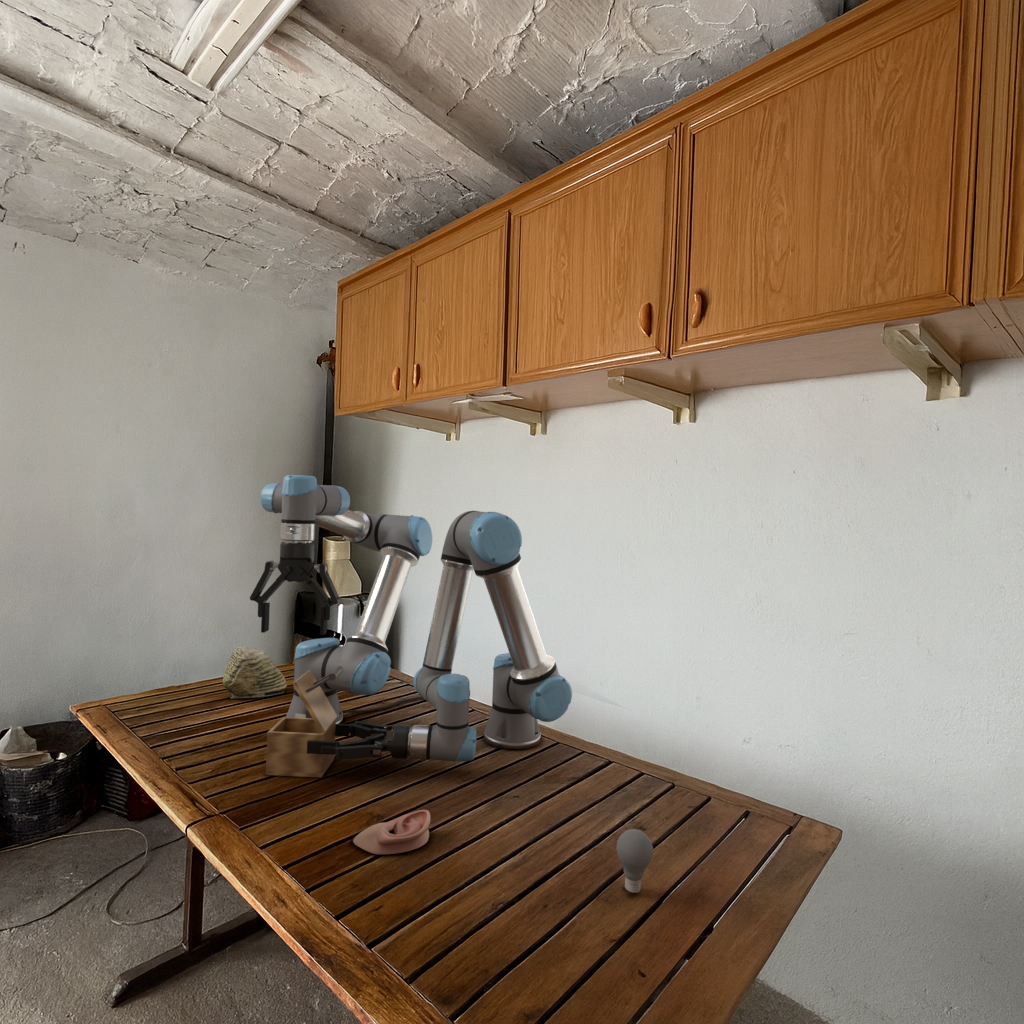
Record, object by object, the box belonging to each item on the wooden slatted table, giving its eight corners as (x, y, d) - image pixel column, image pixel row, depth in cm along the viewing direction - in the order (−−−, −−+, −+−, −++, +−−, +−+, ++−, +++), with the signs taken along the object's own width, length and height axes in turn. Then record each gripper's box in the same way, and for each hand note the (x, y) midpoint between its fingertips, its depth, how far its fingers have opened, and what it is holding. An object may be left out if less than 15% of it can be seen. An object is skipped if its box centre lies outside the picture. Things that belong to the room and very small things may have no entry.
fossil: (218, 695, 195) (220, 647, 195) (278, 685, 208) (279, 640, 207) (228, 703, 189) (230, 653, 188) (289, 692, 201) (290, 645, 201)
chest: (265, 775, 143) (267, 732, 143) (282, 756, 153) (283, 716, 153) (321, 777, 143) (323, 734, 143) (334, 759, 153) (335, 719, 153)
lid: (292, 683, 142) (325, 664, 142) (306, 671, 153) (337, 653, 153) (321, 733, 143) (354, 714, 143) (334, 718, 153) (365, 700, 153)
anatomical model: (346, 827, 114) (372, 798, 125) (345, 849, 114) (372, 818, 125) (416, 839, 111) (436, 808, 122) (415, 861, 111) (436, 828, 123)
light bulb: (610, 879, 108) (613, 822, 108) (644, 879, 109) (647, 822, 109) (619, 902, 102) (622, 840, 102) (655, 901, 103) (658, 840, 103)
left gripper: (236, 540, 143) (233, 633, 143) (347, 545, 143) (343, 638, 143) (250, 538, 151) (247, 627, 151) (355, 542, 151) (351, 631, 151)
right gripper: (400, 779, 136) (298, 774, 136) (416, 739, 159) (328, 735, 159) (402, 744, 136) (299, 740, 136) (418, 709, 159) (329, 705, 159)
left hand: (294, 632), depth 147 cm, fingers open, 13 cm apart
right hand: (315, 737), depth 148 cm, fingers closed on chest, 10 cm apart
